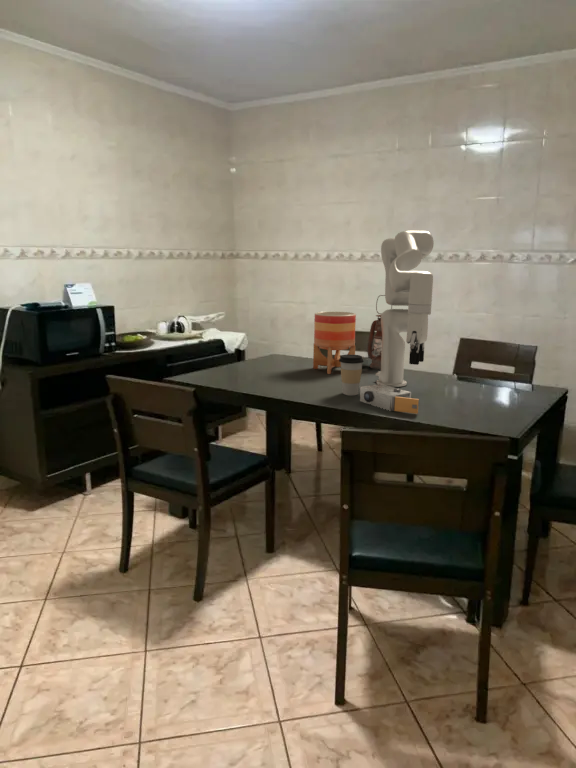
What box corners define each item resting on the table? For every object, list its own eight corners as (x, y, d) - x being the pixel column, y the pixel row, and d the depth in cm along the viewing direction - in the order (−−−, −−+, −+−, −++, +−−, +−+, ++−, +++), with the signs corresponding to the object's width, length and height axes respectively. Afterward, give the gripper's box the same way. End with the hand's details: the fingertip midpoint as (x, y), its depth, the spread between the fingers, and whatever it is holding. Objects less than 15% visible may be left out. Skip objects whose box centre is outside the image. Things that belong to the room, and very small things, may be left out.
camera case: (357, 401, 208) (358, 385, 207) (379, 397, 214) (380, 381, 213) (387, 411, 195) (388, 394, 194) (410, 407, 202) (411, 390, 200)
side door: (392, 409, 196) (392, 395, 195) (417, 413, 192) (418, 399, 191) (390, 410, 195) (391, 396, 194) (417, 414, 191) (417, 399, 190)
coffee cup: (366, 392, 222) (367, 355, 219) (356, 397, 214) (357, 359, 211) (344, 389, 227) (345, 353, 223) (334, 394, 219) (335, 356, 215)
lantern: (373, 363, 283) (376, 293, 275) (401, 367, 273) (405, 295, 265) (361, 366, 275) (363, 294, 267) (389, 371, 265) (393, 296, 257)
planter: (318, 364, 279) (319, 310, 273) (358, 367, 273) (360, 312, 267) (307, 372, 260) (308, 314, 254) (349, 375, 254) (351, 316, 248)
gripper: (415, 307, 197) (412, 358, 201) (401, 311, 182) (398, 365, 186) (436, 308, 194) (433, 359, 198) (424, 312, 179) (420, 368, 183)
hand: (416, 362), depth 192 cm, fingers open, 5 cm apart
